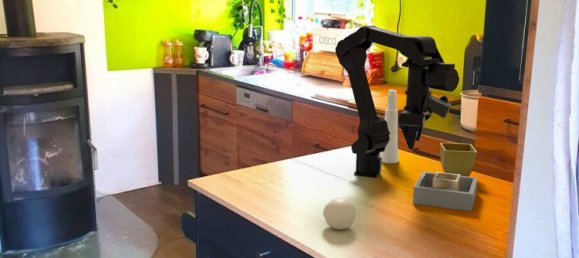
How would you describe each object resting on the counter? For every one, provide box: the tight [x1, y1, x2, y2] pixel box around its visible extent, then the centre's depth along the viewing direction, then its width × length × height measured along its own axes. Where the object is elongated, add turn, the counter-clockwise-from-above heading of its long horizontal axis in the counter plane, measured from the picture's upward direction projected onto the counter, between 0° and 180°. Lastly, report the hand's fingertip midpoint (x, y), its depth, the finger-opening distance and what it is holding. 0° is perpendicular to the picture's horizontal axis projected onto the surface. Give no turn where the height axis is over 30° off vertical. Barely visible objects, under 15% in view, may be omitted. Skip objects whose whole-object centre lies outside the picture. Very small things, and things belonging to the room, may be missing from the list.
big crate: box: [412, 170, 478, 212], centre depth 153 cm, size 14×14×4 cm
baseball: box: [322, 198, 357, 230], centre depth 134 cm, size 7×7×7 cm
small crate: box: [432, 171, 460, 191], centre depth 153 cm, size 6×6×5 cm
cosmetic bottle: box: [380, 89, 400, 165], centre depth 184 cm, size 6×6×22 cm
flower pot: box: [439, 142, 478, 177], centre depth 170 cm, size 9×9×9 cm
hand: (414, 144), depth 159 cm, fingers open, 9 cm apart
